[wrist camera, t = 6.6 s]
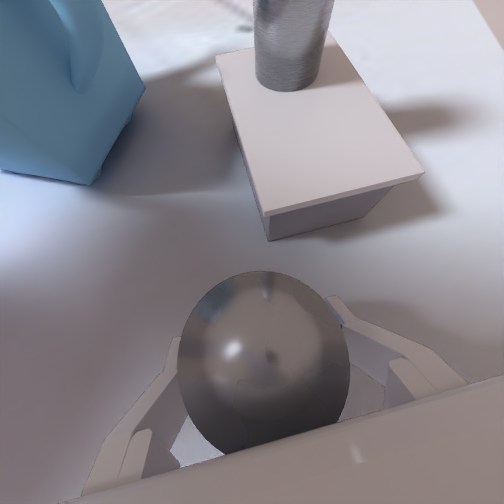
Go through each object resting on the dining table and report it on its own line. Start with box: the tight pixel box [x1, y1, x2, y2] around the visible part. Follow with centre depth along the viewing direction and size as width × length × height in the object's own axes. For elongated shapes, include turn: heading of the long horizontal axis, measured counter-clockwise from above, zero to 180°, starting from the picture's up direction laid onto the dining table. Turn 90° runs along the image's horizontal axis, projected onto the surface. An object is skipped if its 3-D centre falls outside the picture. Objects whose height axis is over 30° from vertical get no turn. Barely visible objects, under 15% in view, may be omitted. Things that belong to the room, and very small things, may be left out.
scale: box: [215, 31, 425, 241], centre depth 16 cm, size 14×9×6 cm, turn 14°
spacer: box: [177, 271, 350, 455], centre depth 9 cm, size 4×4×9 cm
